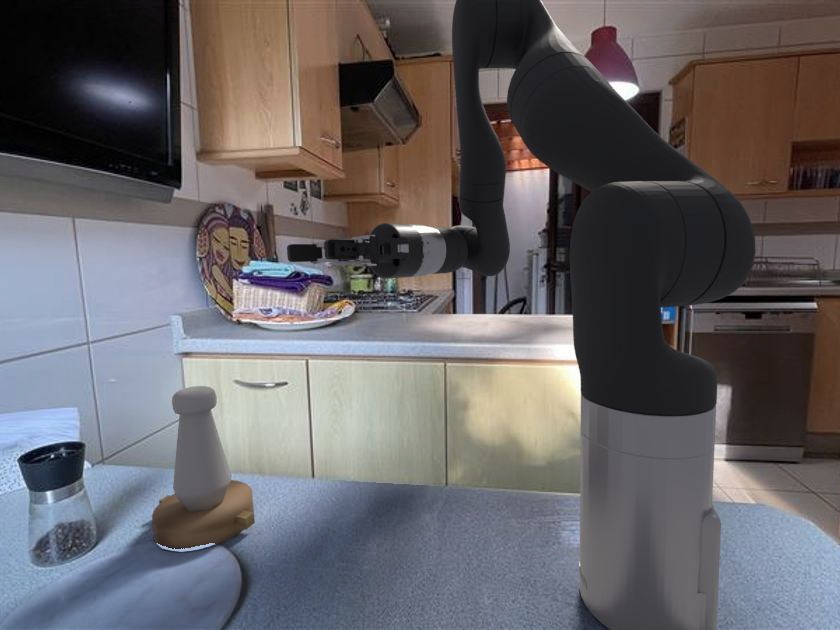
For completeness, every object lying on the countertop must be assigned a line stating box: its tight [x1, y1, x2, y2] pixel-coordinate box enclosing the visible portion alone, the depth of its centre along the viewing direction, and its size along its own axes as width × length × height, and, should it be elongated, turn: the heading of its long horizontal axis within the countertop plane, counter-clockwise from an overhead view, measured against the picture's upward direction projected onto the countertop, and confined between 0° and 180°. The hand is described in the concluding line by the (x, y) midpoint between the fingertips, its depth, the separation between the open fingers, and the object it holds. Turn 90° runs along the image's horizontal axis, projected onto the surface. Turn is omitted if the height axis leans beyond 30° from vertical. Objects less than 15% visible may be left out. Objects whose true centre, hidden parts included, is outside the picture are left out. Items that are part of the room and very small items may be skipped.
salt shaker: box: [171, 385, 232, 512], centre depth 48 cm, size 6×6×13 cm
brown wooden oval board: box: [151, 479, 256, 549], centre depth 49 cm, size 13×10×2 cm
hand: (306, 251), depth 51 cm, fingers open, 8 cm apart
